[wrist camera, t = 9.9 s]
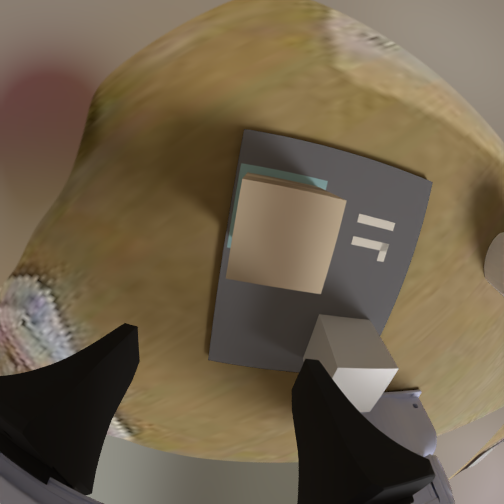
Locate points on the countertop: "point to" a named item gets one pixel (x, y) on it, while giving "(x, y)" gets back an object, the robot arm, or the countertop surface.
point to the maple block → (284, 233)
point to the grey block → (352, 358)
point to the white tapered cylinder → (495, 263)
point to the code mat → (343, 259)
